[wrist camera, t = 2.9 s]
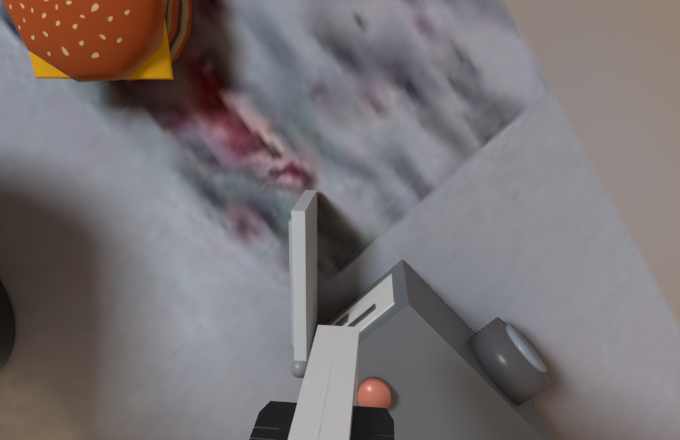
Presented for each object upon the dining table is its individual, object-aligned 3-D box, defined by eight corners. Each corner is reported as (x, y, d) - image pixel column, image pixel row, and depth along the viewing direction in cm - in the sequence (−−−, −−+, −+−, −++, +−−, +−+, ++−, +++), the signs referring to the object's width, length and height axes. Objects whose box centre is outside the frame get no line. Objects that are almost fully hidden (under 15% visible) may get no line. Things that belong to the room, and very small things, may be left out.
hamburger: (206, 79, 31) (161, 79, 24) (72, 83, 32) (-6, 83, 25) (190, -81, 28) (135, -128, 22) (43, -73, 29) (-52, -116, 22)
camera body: (313, 330, 35) (295, 396, 28) (429, 232, 32) (444, 277, 25) (435, 446, 38) (449, 535, 30) (554, 364, 35) (603, 441, 27)
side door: (304, 329, 35) (289, 377, 29) (302, 189, 32) (286, 212, 26) (318, 330, 35) (307, 378, 29) (318, 189, 32) (305, 213, 26)
